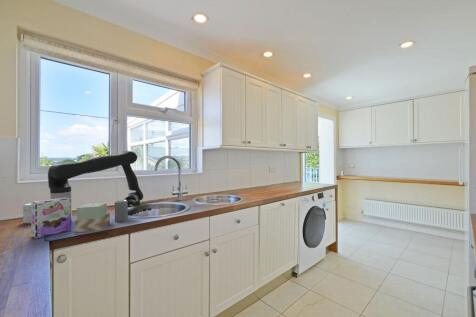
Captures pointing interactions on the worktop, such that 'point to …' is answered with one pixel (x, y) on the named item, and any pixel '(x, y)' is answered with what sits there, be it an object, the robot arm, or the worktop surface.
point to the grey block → (121, 211)
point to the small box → (27, 213)
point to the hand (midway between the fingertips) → (125, 205)
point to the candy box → (50, 217)
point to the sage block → (91, 211)
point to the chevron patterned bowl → (92, 224)
